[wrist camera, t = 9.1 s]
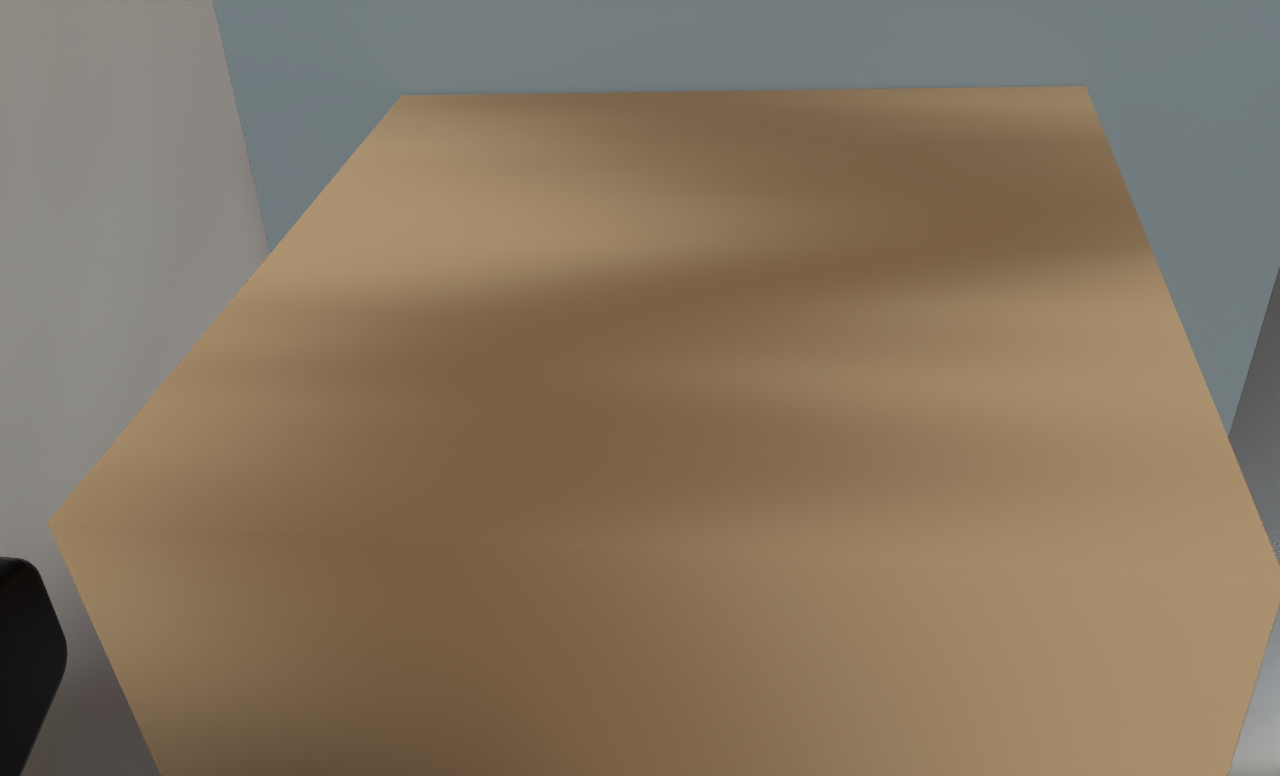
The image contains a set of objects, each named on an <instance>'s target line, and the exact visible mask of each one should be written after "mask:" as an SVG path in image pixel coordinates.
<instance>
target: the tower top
mask: <svg viewBox="0 0 1280 776" xmlns="http://www.w3.org/2000/svg"><path fill="white" fill-rule="evenodd" d="M213 4H214V9H215V13H216V17H217V22H218V26H219V31H220V35H221V39H222V44H223V48H224V52H225V57H226V61H227V65H228V70H229V74H230V78H231V83H232V87H233V91H234V96H235V100H236V104H237V109H238V113H239V118H240V122H241V126H242V131H243V135H244V139H245V144H246V148H247V152H248V157H249V161H250V165H251V170H252V174H253V178H254V183H255V187H256V192H257V196H258V200H259V205H260V209H261V213H262V218H263V222H264V226H265V231H266V235H267V239H268V244H269V248H270V252H272V251H273V250H274V249H275V247H276V246H277V245H278V244H279V243H280V241H281V240H282V239H283V238H284V237H285V235H286V234H287V233H288V232H289V230H290V229H291V228H292V227H293V226H294V224H295V223H296V222H297V221H298V220H299V218H300V217H301V216H302V215H303V214H304V212H305V211H306V210H307V209H308V208H309V206H310V205H311V204H312V203H313V202H314V200H315V199H316V198H317V197H318V196H319V194H320V193H321V192H322V191H323V189H324V188H325V187H326V186H327V185H328V183H329V182H330V181H331V180H332V179H333V177H334V176H335V175H336V174H337V173H338V171H339V170H340V169H341V168H342V167H343V165H344V164H345V163H346V162H347V161H348V159H349V158H350V157H351V156H352V154H353V153H354V152H355V151H356V150H357V148H358V147H359V146H360V145H361V144H362V142H363V141H364V140H365V139H366V138H367V136H368V135H369V134H370V133H371V132H372V130H373V129H374V128H375V127H376V126H377V124H378V123H379V122H380V121H381V119H382V118H383V117H384V116H385V115H386V113H387V112H388V111H389V110H390V109H391V107H392V106H393V105H394V104H395V103H396V101H397V100H398V99H399V98H400V97H401V95H456V94H529V93H602V92H675V91H747V90H820V89H893V88H966V87H1038V86H1086V89H1087V91H1088V94H1089V96H1090V98H1091V101H1092V103H1093V106H1094V108H1095V111H1096V113H1097V116H1098V118H1099V121H1100V123H1101V126H1102V128H1103V131H1104V133H1105V135H1106V138H1107V140H1108V143H1109V145H1110V148H1111V150H1112V153H1113V155H1114V158H1115V160H1116V163H1117V165H1118V168H1119V170H1120V172H1121V175H1122V177H1123V180H1124V182H1125V185H1126V187H1127V190H1128V192H1129V195H1130V197H1131V200H1132V202H1133V205H1134V207H1135V210H1136V212H1137V214H1138V217H1139V219H1140V222H1141V224H1142V227H1143V229H1144V232H1145V234H1146V237H1147V239H1148V242H1149V244H1150V247H1151V249H1152V251H1153V254H1154V256H1155V259H1156V261H1157V264H1158V266H1159V269H1160V271H1161V274H1162V276H1163V279H1164V281H1165V284H1166V286H1167V288H1168V291H1169V293H1170V296H1171V298H1172V301H1173V303H1174V306H1175V308H1176V311H1177V313H1178V316H1179V318H1180V321H1181V323H1182V326H1183V328H1184V330H1185V333H1186V335H1187V338H1188V340H1189V343H1190V345H1191V348H1192V350H1193V353H1194V355H1195V358H1196V360H1197V363H1198V365H1199V367H1200V370H1201V372H1202V375H1203V377H1204V380H1205V382H1206V385H1207V387H1208V390H1209V392H1210V395H1211V397H1212V400H1213V402H1214V404H1215V407H1216V409H1217V412H1218V414H1219V417H1220V419H1221V422H1222V424H1223V427H1224V429H1225V432H1226V434H1227V437H1229V434H1230V430H1231V427H1232V424H1233V420H1234V417H1235V414H1236V410H1237V407H1238V404H1239V400H1240V397H1241V394H1242V390H1243V387H1244V384H1245V380H1246V377H1247V374H1248V370H1249V367H1250V364H1251V360H1252V357H1253V354H1254V350H1255V347H1256V344H1257V340H1258V337H1259V334H1260V330H1261V327H1262V324H1263V320H1264V317H1265V314H1266V310H1267V307H1268V304H1269V300H1270V297H1271V294H1272V290H1273V287H1274V284H1275V280H1276V277H1277V274H1278V270H1279V267H1280V0H213Z"/></svg>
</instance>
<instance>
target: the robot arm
mask: <svg viewBox="0 0 1280 776" xmlns="http://www.w3.org/2000/svg"><path fill="white" fill-rule="evenodd" d="M66 663H67V644H66V639H65V636H64V633H63V631H62V628H61V626H60V623H59V621H58V618H57V616H56V613H55V611H54V608H53V606H52V603H51V600H50V598H49V595H48V593H47V590H46V588H45V585H44V583H43V580H42V578H41V575H40V573H39V572H38V570H37V568H36V567H35V566H33V565H32V564H31V563H30V562H29V561H26V560H24V559H20V558H10V557H0V776H21V774H22V772H23V769H24V767H25V765H26V762H27V760H28V758H29V755H30V753H31V751H32V748H33V746H34V744H35V741H36V739H37V737H38V734H39V732H40V730H41V727H42V725H43V723H44V720H45V718H46V716H47V713H48V711H49V708H50V706H51V704H52V701H53V699H54V697H55V694H56V692H57V690H58V687H59V685H60V683H61V680H62V678H63V675H64V671H65V667H66Z"/></svg>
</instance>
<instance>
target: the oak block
mask: <svg viewBox="0 0 1280 776" xmlns="http://www.w3.org/2000/svg"><path fill="white" fill-rule="evenodd" d="M47 523H48V525H49V527H50V530H51V532H52V534H53V536H54V539H55V541H56V543H57V545H58V548H59V550H60V552H61V554H62V556H63V559H64V561H65V563H66V565H67V568H68V570H69V572H70V574H71V577H72V579H73V581H74V583H75V586H76V588H77V590H78V592H79V594H80V597H81V599H82V601H83V603H84V606H85V608H86V610H87V612H88V615H89V617H90V619H91V621H92V623H93V626H94V628H95V630H96V632H97V635H98V637H99V639H100V641H101V644H102V646H103V648H104V650H105V653H106V655H107V657H108V659H109V661H110V664H111V666H112V668H113V670H114V673H115V675H116V677H117V679H118V682H119V684H120V686H121V688H122V690H123V693H124V695H125V697H126V699H127V702H128V704H129V706H130V708H131V711H132V713H133V715H134V717H135V720H136V722H137V724H138V726H139V728H140V731H141V733H142V735H143V737H144V740H145V742H146V744H147V746H148V749H149V751H150V753H151V755H152V757H153V760H154V762H155V764H156V766H157V769H158V771H159V773H160V775H161V776H1227V775H1228V772H1229V768H1230V765H1231V762H1232V758H1233V755H1234V752H1235V749H1236V745H1237V742H1238V739H1239V736H1240V732H1241V729H1242V726H1243V722H1244V719H1245V716H1246V713H1247V709H1248V706H1249V703H1250V700H1251V696H1252V693H1253V690H1254V687H1255V683H1256V680H1257V677H1258V673H1259V670H1260V667H1261V664H1262V660H1263V657H1264V654H1265V651H1266V647H1267V644H1268V641H1269V637H1270V634H1271V631H1272V628H1273V624H1274V621H1275V618H1276V615H1277V611H1278V608H1279V605H1280V565H1279V562H1278V560H1277V557H1276V555H1275V553H1274V550H1273V548H1272V545H1271V543H1270V540H1269V538H1268V535H1267V533H1266V530H1265V528H1264V525H1263V523H1262V520H1261V518H1260V516H1259V513H1258V511H1257V508H1256V506H1255V503H1254V501H1253V498H1252V496H1251V493H1250V491H1249V488H1248V486H1247V483H1246V481H1245V479H1244V476H1243V474H1242V471H1241V469H1240V466H1239V464H1238V461H1237V459H1236V456H1235V454H1234V451H1233V449H1232V446H1231V444H1230V441H1229V439H1228V437H1227V434H1226V432H1225V429H1224V427H1223V424H1222V422H1221V419H1220V417H1219V414H1218V412H1217V409H1216V407H1215V404H1214V402H1213V400H1212V397H1211V395H1210V392H1209V390H1208V387H1207V385H1206V382H1205V380H1204V377H1203V375H1202V372H1201V370H1200V367H1199V365H1198V363H1197V360H1196V358H1195V355H1194V353H1193V350H1192V348H1191V345H1190V343H1189V340H1188V338H1187V335H1186V333H1185V330H1184V328H1183V326H1182V323H1181V321H1180V318H1179V316H1178V313H1177V311H1176V308H1175V306H1174V303H1173V301H1172V298H1171V296H1170V293H1169V291H1168V288H1167V286H1166V284H1165V281H1164V279H1163V276H1162V274H1161V271H1160V269H1159V266H1158V264H1157V261H1156V259H1155V256H1154V254H1153V251H1152V249H1151V247H1150V244H1149V242H1148V239H1147V237H1146V234H1145V232H1144V229H1143V227H1142V224H1141V222H1140V219H1139V217H1138V214H1137V212H1136V210H1135V207H1134V205H1133V202H1132V200H1131V197H1130V195H1129V192H1128V190H1127V187H1126V185H1125V182H1124V180H1123V177H1122V175H1121V172H1120V170H1119V168H1118V165H1117V163H1116V160H1115V158H1114V155H1113V153H1112V150H1111V148H1110V145H1109V143H1108V140H1107V138H1106V135H1105V133H1104V131H1103V128H1102V126H1101V123H1100V121H1099V118H1098V116H1097V113H1096V111H1095V108H1094V106H1093V103H1092V101H1091V98H1090V96H1089V94H1088V91H1087V89H1086V86H1038V87H966V88H893V89H820V90H747V91H675V92H602V93H529V94H456V95H401V97H400V98H399V99H398V100H397V101H396V103H395V104H394V105H393V106H392V107H391V109H390V110H389V111H388V112H387V113H386V115H385V116H384V117H383V118H382V119H381V121H380V122H379V123H378V124H377V126H376V127H375V128H374V129H373V130H372V132H371V133H370V134H369V135H368V136H367V138H366V139H365V140H364V141H363V142H362V144H361V145H360V146H359V147H358V148H357V150H356V151H355V152H354V153H353V154H352V156H351V157H350V158H349V159H348V161H347V162H346V163H345V164H344V165H343V167H342V168H341V169H340V170H339V171H338V173H337V174H336V175H335V176H334V177H333V179H332V180H331V181H330V182H329V183H328V185H327V186H326V187H325V188H324V189H323V191H322V192H321V193H320V194H319V196H318V197H317V198H316V199H315V200H314V202H313V203H312V204H311V205H310V206H309V208H308V209H307V210H306V211H305V212H304V214H303V215H302V216H301V217H300V218H299V220H298V221H297V222H296V223H295V224H294V226H293V227H292V228H291V229H290V230H289V232H288V233H287V234H286V235H285V237H284V238H283V239H282V240H281V241H280V243H279V244H278V245H277V246H276V247H275V249H274V250H273V251H272V252H271V253H270V255H269V256H268V257H267V258H266V259H265V261H264V262H263V263H262V264H261V265H260V267H259V268H258V269H257V270H256V272H255V273H254V274H253V275H252V276H251V278H250V279H249V280H248V281H247V282H246V284H245V285H244V286H243V287H242V288H241V290H240V291H239V292H238V293H237V294H236V296H235V297H234V298H233V299H232V300H231V302H230V303H229V304H228V305H227V306H226V308H225V309H224V310H223V311H222V313H221V314H220V315H219V316H218V317H217V319H216V320H215V321H214V322H213V323H212V325H211V326H210V327H209V328H208V329H207V331H206V332H205V333H204V334H203V335H202V337H201V338H200V339H199V340H198V341H197V343H196V344H195V345H194V346H193V348H192V349H191V350H190V351H189V352H188V354H187V355H186V356H185V357H184V358H183V360H182V361H181V362H180V363H179V364H178V366H177V367H176V368H175V369H174V370H173V372H172V373H171V374H170V375H169V376H168V378H167V379H166V380H165V381H164V382H163V384H162V385H161V386H160V387H159V389H158V390H157V391H156V392H155V393H154V395H153V396H152V397H151V398H150V399H149V401H148V402H147V403H146V404H145V405H144V407H143V408H142V409H141V410H140V411H139V413H138V414H137V415H136V416H135V417H134V419H133V420H132V421H131V422H130V424H129V425H128V426H127V427H126V428H125V430H124V431H123V432H122V433H121V434H120V436H119V437H118V438H117V439H116V440H115V442H114V443H113V444H112V445H111V446H110V448H109V449H108V450H107V451H106V452H105V454H104V455H103V456H102V457H101V458H100V460H99V461H98V462H97V463H96V465H95V466H94V467H93V468H92V469H91V471H90V472H89V473H88V474H87V475H86V477H85V478H84V479H83V480H82V481H81V483H80V484H79V485H78V486H77V487H76V489H75V490H74V491H73V492H72V493H71V495H70V496H69V497H68V498H67V500H66V501H65V502H64V503H63V504H62V506H61V507H60V508H59V509H58V510H57V512H56V513H55V514H54V515H53V516H52V518H51V519H50V520H49V521H48V522H47Z"/></svg>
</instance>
